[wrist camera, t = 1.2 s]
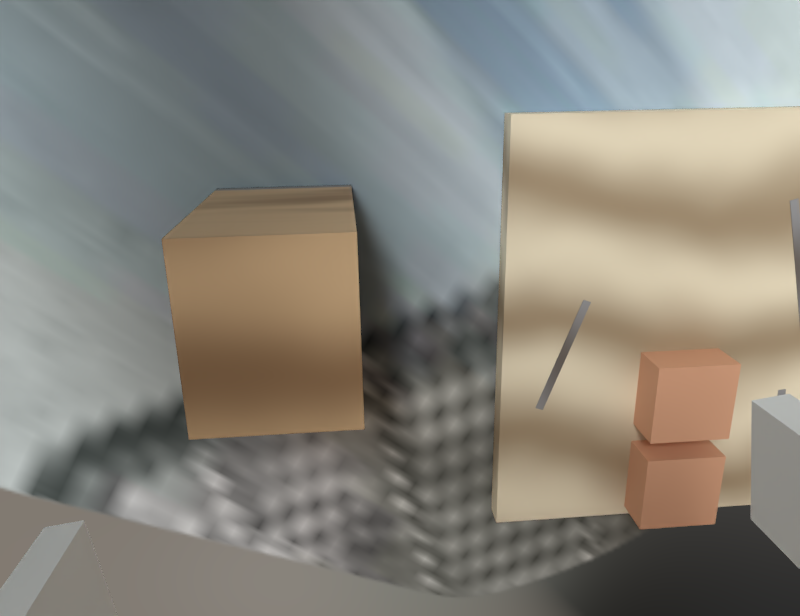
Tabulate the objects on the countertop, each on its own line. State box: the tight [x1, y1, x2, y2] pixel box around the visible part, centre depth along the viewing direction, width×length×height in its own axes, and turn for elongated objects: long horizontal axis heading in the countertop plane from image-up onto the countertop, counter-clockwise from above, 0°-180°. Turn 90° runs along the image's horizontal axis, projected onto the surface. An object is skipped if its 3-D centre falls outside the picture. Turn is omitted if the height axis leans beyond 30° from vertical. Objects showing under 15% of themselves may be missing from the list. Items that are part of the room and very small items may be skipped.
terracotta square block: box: [633, 348, 741, 444], centre depth 33 cm, size 4×4×2 cm
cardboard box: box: [162, 185, 365, 440], centre depth 27 cm, size 7×6×10 cm
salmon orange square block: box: [624, 440, 726, 529], centre depth 35 cm, size 4×4×2 cm
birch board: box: [491, 106, 800, 523], centre depth 33 cm, size 21×18×1 cm
